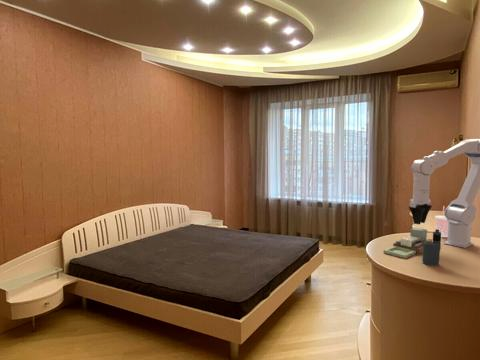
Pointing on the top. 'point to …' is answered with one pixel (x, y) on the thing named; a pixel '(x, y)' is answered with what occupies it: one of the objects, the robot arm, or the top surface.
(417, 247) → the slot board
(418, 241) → the chip
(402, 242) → the chip
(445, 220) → the beverage cup
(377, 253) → the top surface
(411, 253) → the chip tray
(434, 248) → the vaping device
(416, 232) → the sage green cube
